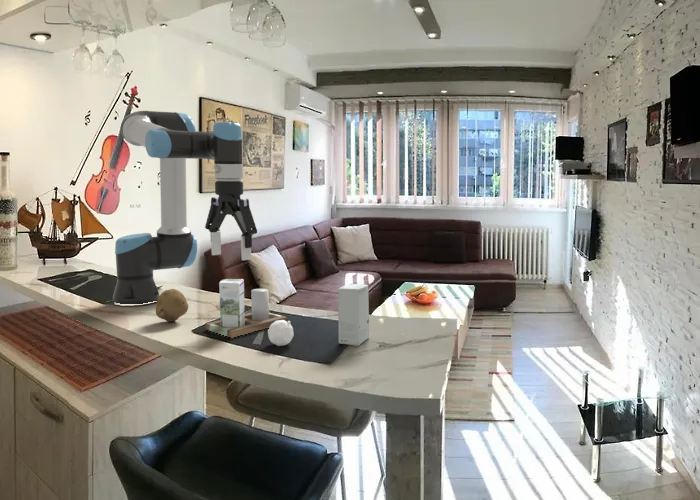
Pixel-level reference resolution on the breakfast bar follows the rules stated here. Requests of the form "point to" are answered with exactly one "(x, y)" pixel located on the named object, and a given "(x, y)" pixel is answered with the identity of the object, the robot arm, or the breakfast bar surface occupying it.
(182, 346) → the breakfast bar surface
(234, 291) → the syrup box
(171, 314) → the brown potato
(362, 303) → the skincare box
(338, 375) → the breakfast bar surface
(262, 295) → the grey canister
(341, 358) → the breakfast bar surface
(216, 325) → the socket board
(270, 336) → the ornament
